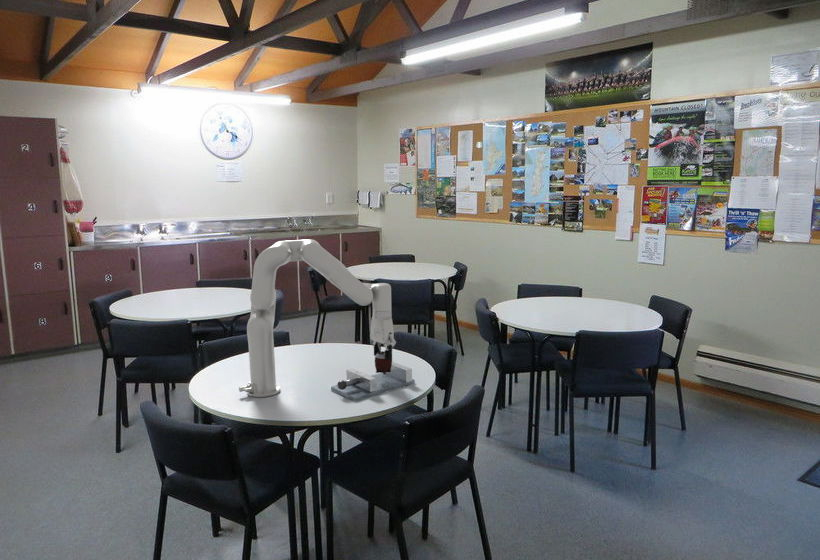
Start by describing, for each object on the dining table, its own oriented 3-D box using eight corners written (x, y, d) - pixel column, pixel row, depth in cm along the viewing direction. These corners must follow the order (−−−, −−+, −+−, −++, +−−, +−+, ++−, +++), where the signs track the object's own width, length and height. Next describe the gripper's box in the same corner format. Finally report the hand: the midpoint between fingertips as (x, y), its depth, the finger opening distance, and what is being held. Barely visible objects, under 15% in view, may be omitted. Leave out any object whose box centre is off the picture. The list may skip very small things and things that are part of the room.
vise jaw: (350, 397, 215) (349, 385, 215) (327, 386, 228) (326, 375, 227) (376, 390, 223) (376, 378, 222) (352, 379, 235) (352, 368, 235)
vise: (354, 401, 217) (353, 384, 216) (331, 390, 229) (330, 374, 228) (414, 383, 236) (414, 368, 235) (390, 373, 248) (390, 359, 247)
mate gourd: (393, 374, 232) (394, 337, 230) (374, 375, 230) (374, 338, 228) (389, 368, 240) (390, 333, 237) (371, 369, 238) (371, 334, 235)
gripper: (361, 312, 235) (362, 354, 238) (388, 319, 222) (388, 364, 225) (376, 309, 240) (377, 350, 243) (403, 316, 227) (403, 360, 230)
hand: (383, 356), depth 234 cm, fingers closed on mate gourd, 6 cm apart
